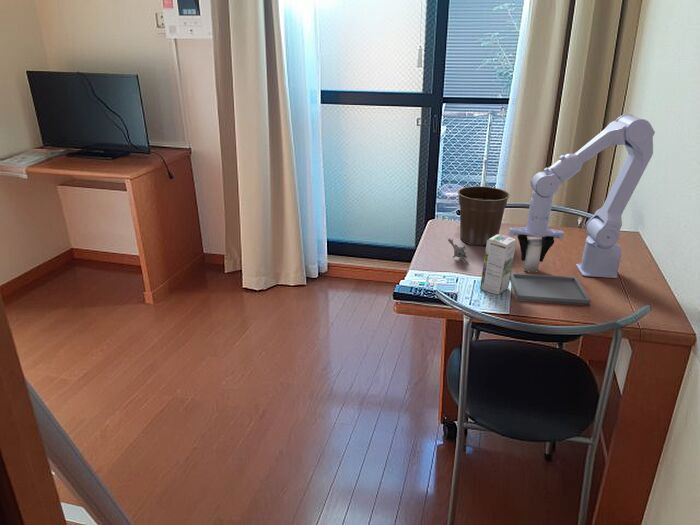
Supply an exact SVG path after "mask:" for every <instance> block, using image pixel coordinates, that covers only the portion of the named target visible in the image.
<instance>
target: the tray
mask: <svg viewBox="0 0 700 525" xmlns="http://www.w3.org/2000/svg"><path fill="white" fill-rule="evenodd" d="M509 282H510V284H511V287H512V289H513V293H514V296H515V298H516V301H519V300H520V301H519V302H536V303H537V302H538V303H548V304H550V303H551V304H563V305H579V306H590V305H591V299H590V296H589V295H588V293H587V292H586V290H585V289H584V287H583V285H582V284H581V283H580V281H579V279H578V278H577V276H566V275H550V274H536V273H533V274H532V273H521V272H520V273H518V272H511V275H510V281H509Z"/></svg>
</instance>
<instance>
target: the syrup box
mask: <svg viewBox="0 0 700 525" xmlns="http://www.w3.org/2000/svg"><path fill="white" fill-rule="evenodd" d="M516 243H517V239H515V238H513V237H512V236H507V235H503V234H499V235H498V234H497V235H495V236H493V237H492V238H490V239H488V240H487V244H486V246H485V250H484V251H485V253H484V257H483V259H484V260H483V266H482V272H481V278H480V279H481V280H480V286H479V288H480V290H483V291H486V292H489V293H492V294H496V295H498V296H499V295H501V294H503V293H504V292H505V291H506V290H507V289H509V287H510V286H509V285H510V282H511V281H510V275H511V273H512V269H513V262H514V256H515V252H516V245H517V244H516Z"/></svg>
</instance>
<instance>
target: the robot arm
mask: <svg viewBox="0 0 700 525" xmlns="http://www.w3.org/2000/svg"><path fill="white" fill-rule="evenodd" d="M655 133H656V131H655V130H654V127H653V126H652V124H651V123H650V121H648V120H646V119H642V118H639V117H637V116H634V115H633V114H630V113H626V114H625V113H624V114H622V115H620V116H618V117H617V118H616V119H615V120H613V121H611V122H609V123H608V124H607V126H606V127H605V128H604V129H603V130H601V132H599V133H598V134H597V135H595V137H593V138H592V139H590V140H589V141H588V142H586V144H585V145H583V146H582V147H580V149H578V150H577V151H576V152H574V153H566V154H565V155H564V154H561V155H560V156H558V159H557V161H556V162H554V163H553V164H552V165H550V166H549V167H545V168H544V169H543V171H539V172H537V173H535V174H534V175H533V177H532V179H531V180H530V187H531V189H532V191H531V198H530V202H529V209H528V213H527V221H526V226H521V227H509V232H508V235H509V237H514V236H516V237H517V240H518V243H519V247H520V248H519V249H520V259H521V261H525V256H526V248H527V245H528V237H529V238H530V237H535V238H541V240H542V250H541V256H540V262H541V263H543V262H544V258H545V256H546V255H547V253H548V252H549V250H550V249H551V247H552V246H553V245H554V244H555V240H554V239H558V240H563V238H564V234H565V232H564V231H563V230H561V229H560V230H559V229H551V228H549V223H550V216H551V211H552V205H553V200H554V195H555V194H557V192H558V191H559V187H560V186H561V185H563V184H564V183H566V181H568V180H570V179H571V178H572V177H573V176H575V175H576V174H578V173H579V172H581V170H582V166H583V164H584V163H586V162H587V161H588V160H590V159H591V158H592V157H594V156H596V155H597V154H600V153H601V152H603V151H604V150H605V149H607V148H608V147H609V146H618V145H620V146H622V145H623V146H624V147H625V149H626V152H627V153H628V155H627V157H626V159H625V160H624V162H623V165H622V166H621V169H620V171H619V173H618V175H617V177H616V179H615V180H614V182H613V184H612V187H611V188H610V190H609V193H608V194H607V196H606V198H605V201H604V203H603V205H602V206H601V207H600V208H598V209H597V210H596V211H595V212H594V214H593V216H591V218H589V219H588V220H587V221H586V223H585V227H584V229H585V233H586V234H587V237H586V239H585V244H584V247H583V253H582V257H581V262H580V263H576V264H575V266H576V268H577V269H578V271H579V272H580V274H581V276H583V277H594V278H595V277H596V278H609V279H617V278H618V272H619V267H620V262H621V258H622V248H621V245H620V244H618V241H619V239H620V230H621V229H622V226H623V221H622V215H623V213H624V212H625V209H626V207H627V206H628V203H629V201H630V200H631V197H632V195H633V194H634V193H635V192H634V191H635V190H636V188H637V185H638V184H639V182H640V180H641V178H642V176H643V174H644V172H646V171H645V170H646V169H647V167H648V165H649V163H650V161H651V159H652V157H653V155H654V135H655ZM540 262H539V263H540Z"/></svg>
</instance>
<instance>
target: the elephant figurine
mask: <svg viewBox="0 0 700 525" xmlns="http://www.w3.org/2000/svg"><path fill="white" fill-rule="evenodd" d="M447 241H448V242H449V244H451V246H452V248H453V253H454V254H453V256H452V259H454V258H455V257H456V258H461V259H462V261H463V262H464V264H465V265H466V266H470V263H469V262H470V260H467V259H466V258H465V256H467V253H468V252H467V251H465V250H466V249H468V247H466V246H465V243H464V244H463V245H461V246H459V245H457V244H455V243H454V242H453V241H454V239H453V238H452V239H451V238H450V237H449V238H447Z"/></svg>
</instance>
